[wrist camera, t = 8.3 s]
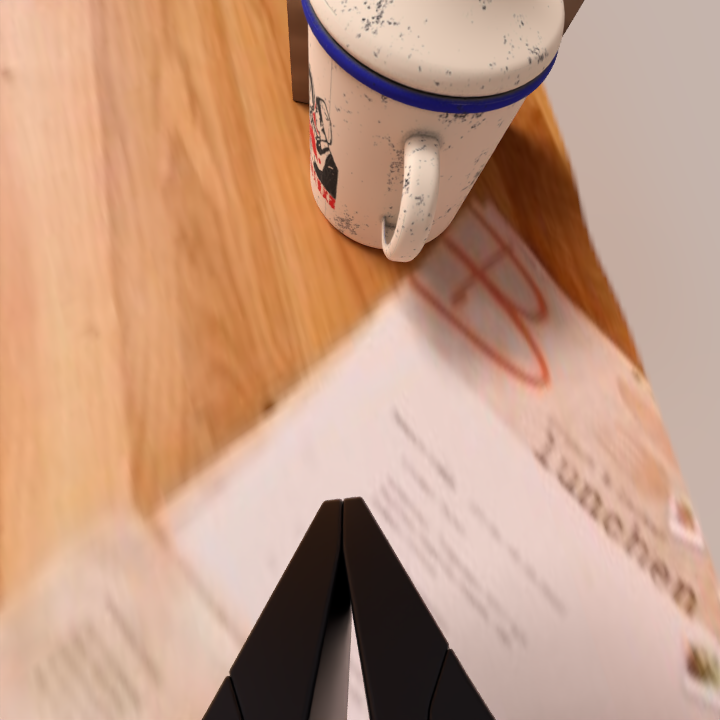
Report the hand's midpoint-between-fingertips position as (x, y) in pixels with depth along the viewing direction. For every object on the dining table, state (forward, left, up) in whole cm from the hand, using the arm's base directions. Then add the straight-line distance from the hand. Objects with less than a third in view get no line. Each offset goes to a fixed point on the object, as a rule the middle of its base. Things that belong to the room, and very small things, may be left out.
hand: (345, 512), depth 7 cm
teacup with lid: (+14, -6, -8) cm, 17 cm away
